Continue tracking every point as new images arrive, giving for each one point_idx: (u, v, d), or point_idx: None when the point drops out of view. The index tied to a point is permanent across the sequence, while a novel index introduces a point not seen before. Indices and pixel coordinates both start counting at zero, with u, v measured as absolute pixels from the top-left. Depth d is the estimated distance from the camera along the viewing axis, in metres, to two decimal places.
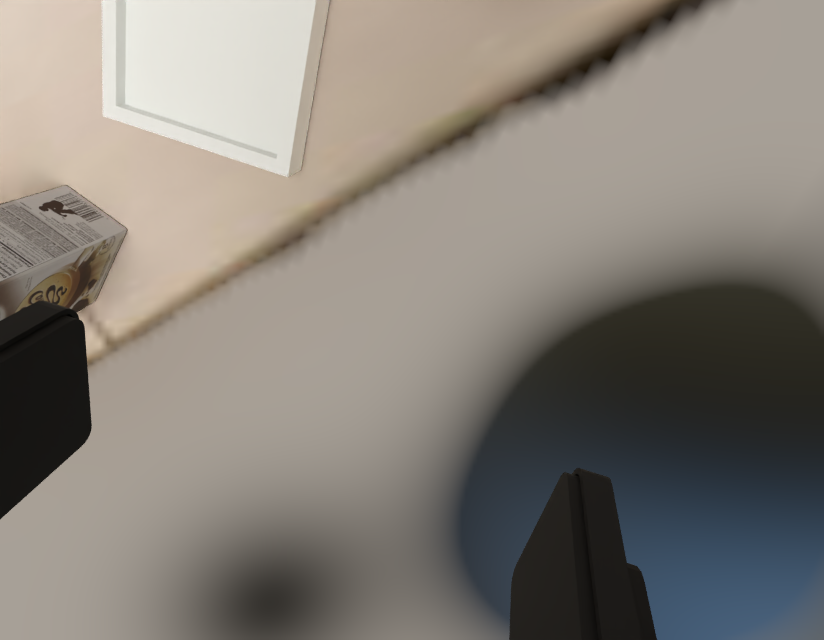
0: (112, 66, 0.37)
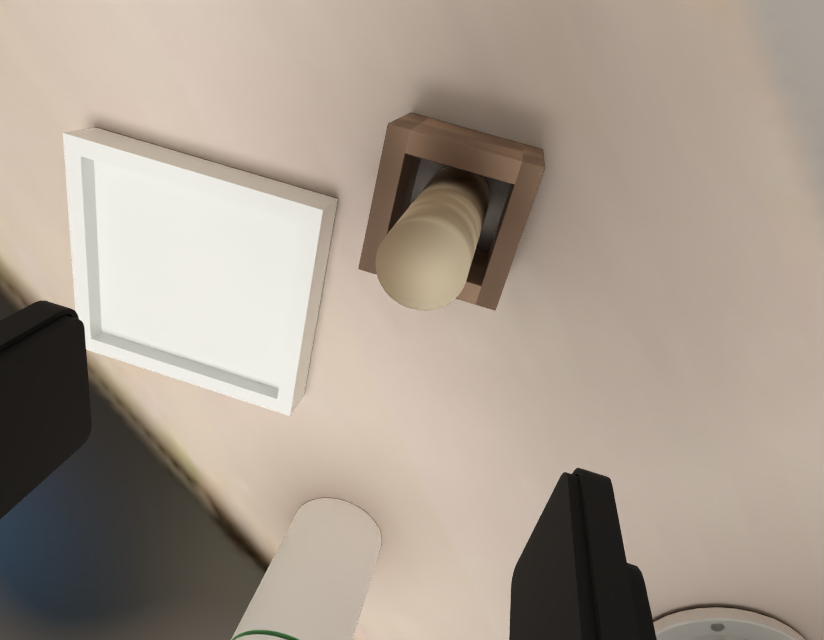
0: (123, 163, 0.30)
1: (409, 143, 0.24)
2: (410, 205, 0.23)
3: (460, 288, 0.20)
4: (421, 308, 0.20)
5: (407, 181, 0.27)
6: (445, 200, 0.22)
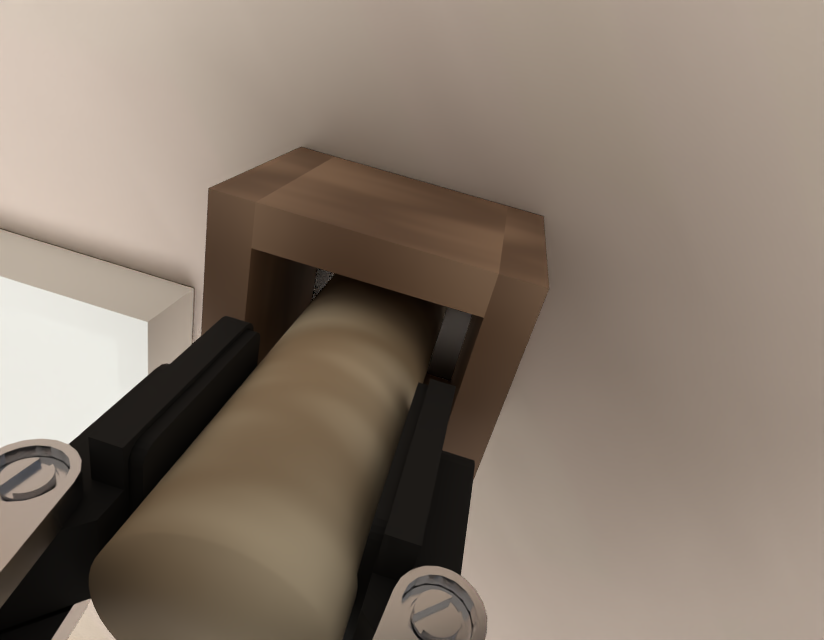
0: None
1: (258, 229, 0.11)
2: (252, 372, 0.10)
3: None
4: None
5: (288, 279, 0.14)
6: (314, 382, 0.09)
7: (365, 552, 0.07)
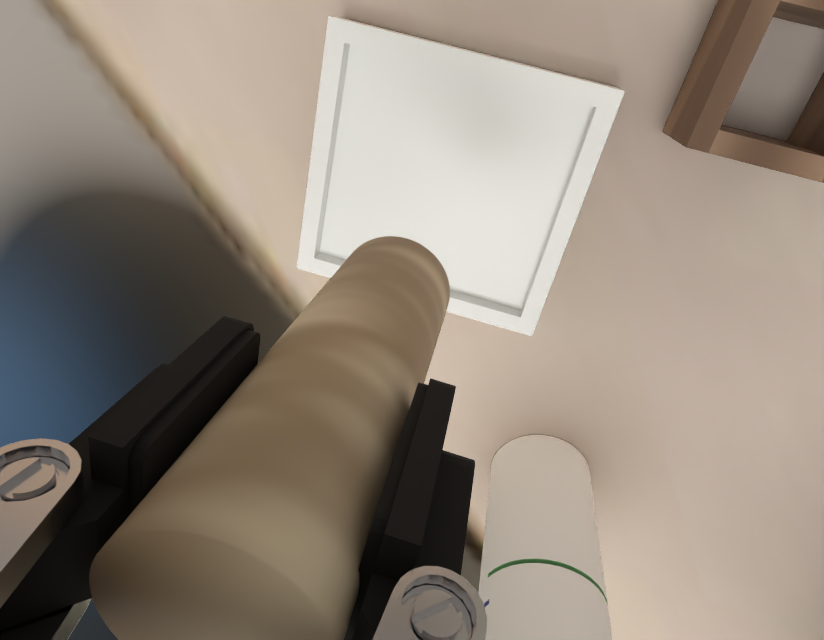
0: (393, 48, 0.27)
1: None
2: None
3: None
4: None
5: None
6: (315, 380, 0.09)
7: (365, 552, 0.07)
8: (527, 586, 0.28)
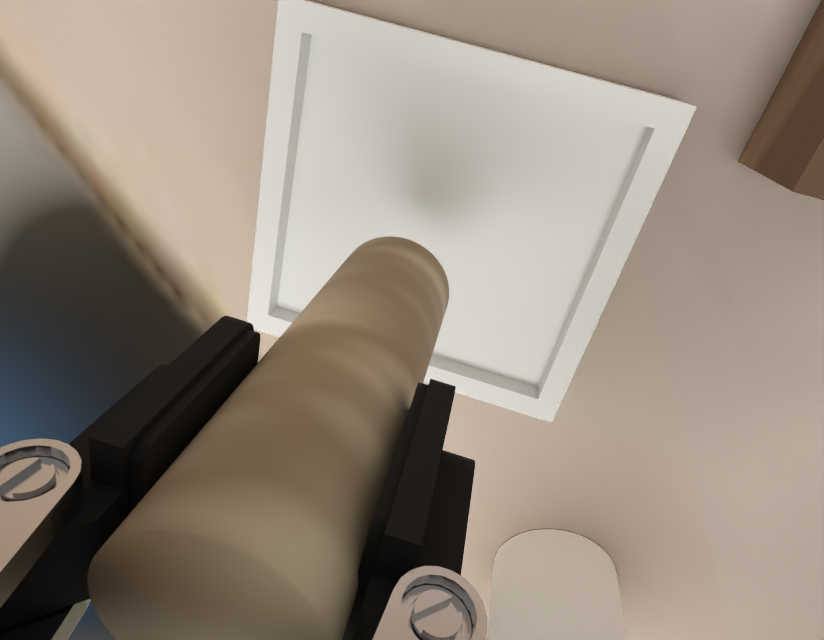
0: (369, 41, 0.19)
1: None
2: None
3: None
4: None
5: None
6: (314, 380, 0.09)
7: (365, 552, 0.07)
8: None
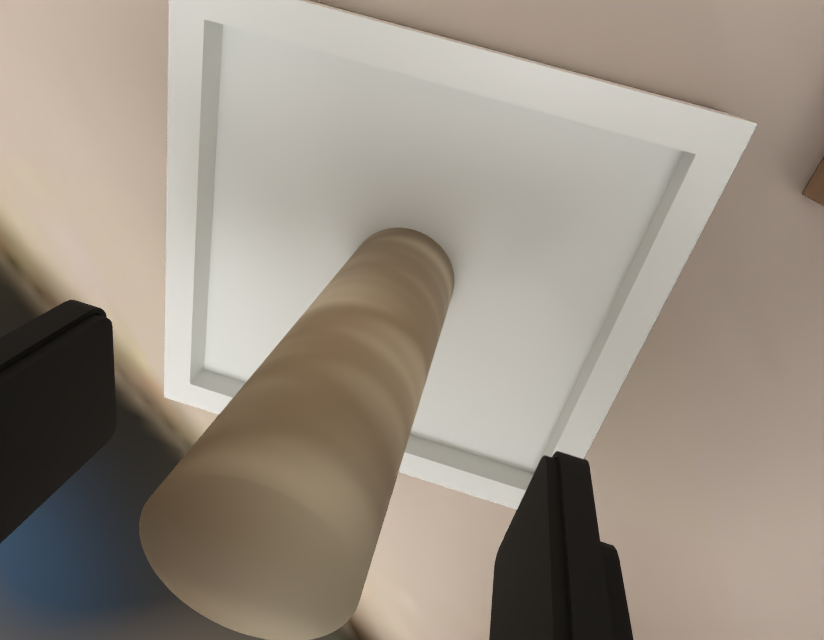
0: (297, 31, 0.14)
1: None
2: (275, 347, 0.11)
3: (347, 613, 0.08)
4: (263, 636, 0.09)
5: None
6: (336, 353, 0.10)
7: None
8: None
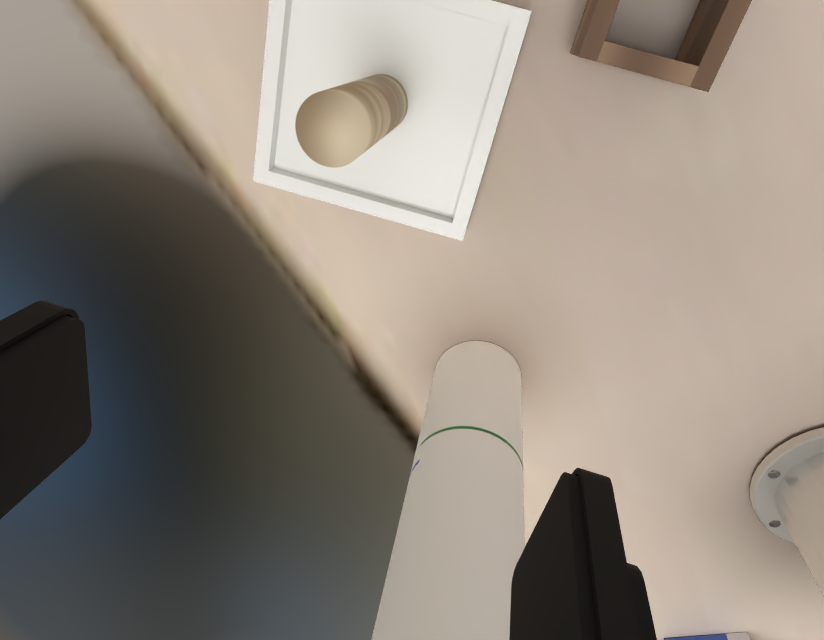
0: None
1: None
2: None
3: (362, 146, 0.25)
4: (333, 165, 0.26)
5: None
6: (355, 85, 0.27)
7: None
8: (450, 444, 0.33)
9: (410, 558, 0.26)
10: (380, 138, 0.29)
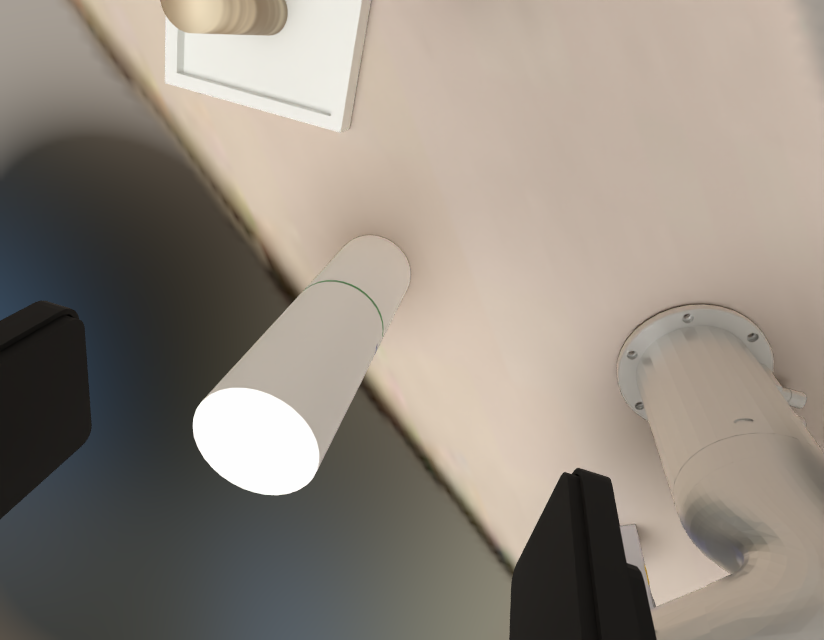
0: None
1: None
2: None
3: (212, 13, 0.32)
4: (192, 31, 0.32)
5: None
6: None
7: None
8: (313, 290, 0.39)
9: (249, 350, 0.32)
10: (246, 23, 0.36)
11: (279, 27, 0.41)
